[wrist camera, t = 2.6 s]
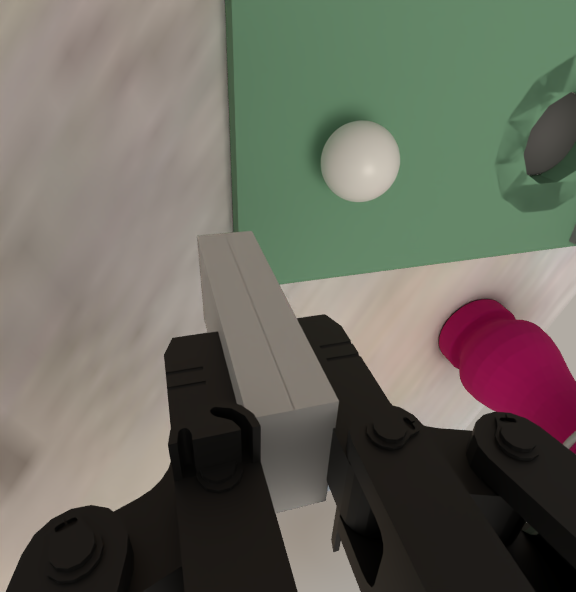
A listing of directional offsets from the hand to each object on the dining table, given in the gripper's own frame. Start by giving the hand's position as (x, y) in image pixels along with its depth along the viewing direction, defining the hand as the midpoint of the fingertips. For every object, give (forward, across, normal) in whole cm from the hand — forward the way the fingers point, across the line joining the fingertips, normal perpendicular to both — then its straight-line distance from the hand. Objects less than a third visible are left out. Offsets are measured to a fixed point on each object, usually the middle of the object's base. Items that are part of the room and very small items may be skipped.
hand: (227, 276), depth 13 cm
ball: (+10, +8, 0) cm, 13 cm away
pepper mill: (+14, +22, -16) cm, 31 cm away
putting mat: (+14, +16, 0) cm, 21 cm away
